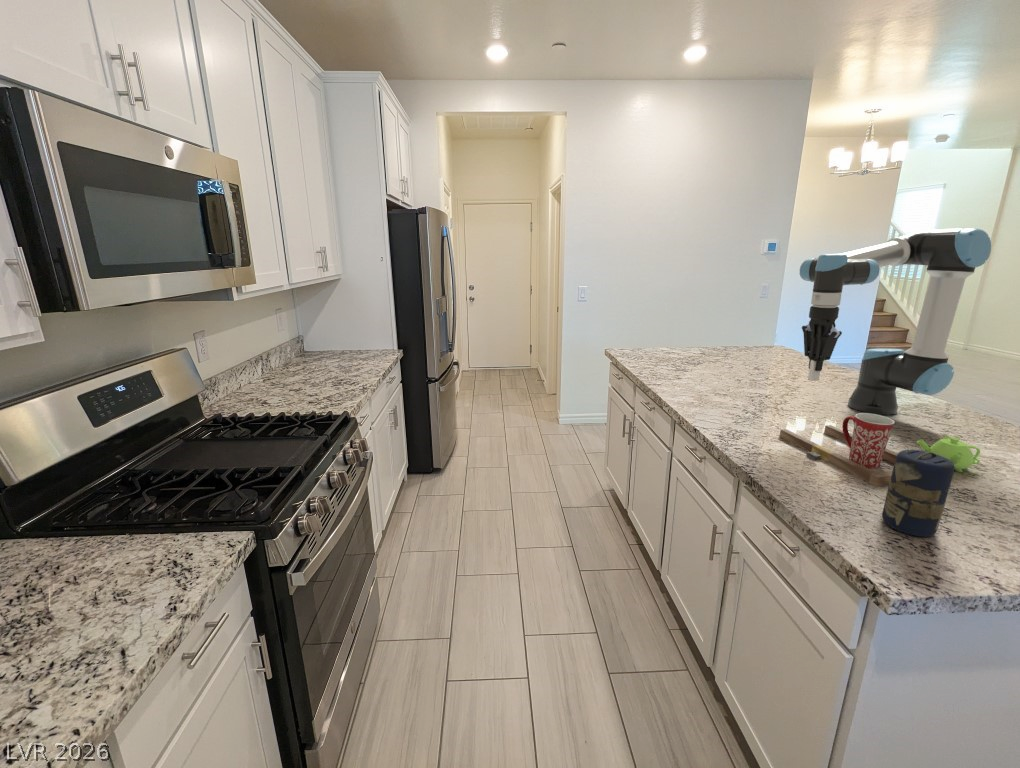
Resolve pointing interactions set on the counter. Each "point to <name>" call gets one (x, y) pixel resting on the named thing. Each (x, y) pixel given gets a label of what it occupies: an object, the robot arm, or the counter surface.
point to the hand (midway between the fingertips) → (813, 379)
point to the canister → (917, 492)
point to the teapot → (953, 452)
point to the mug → (868, 438)
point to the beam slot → (856, 469)
